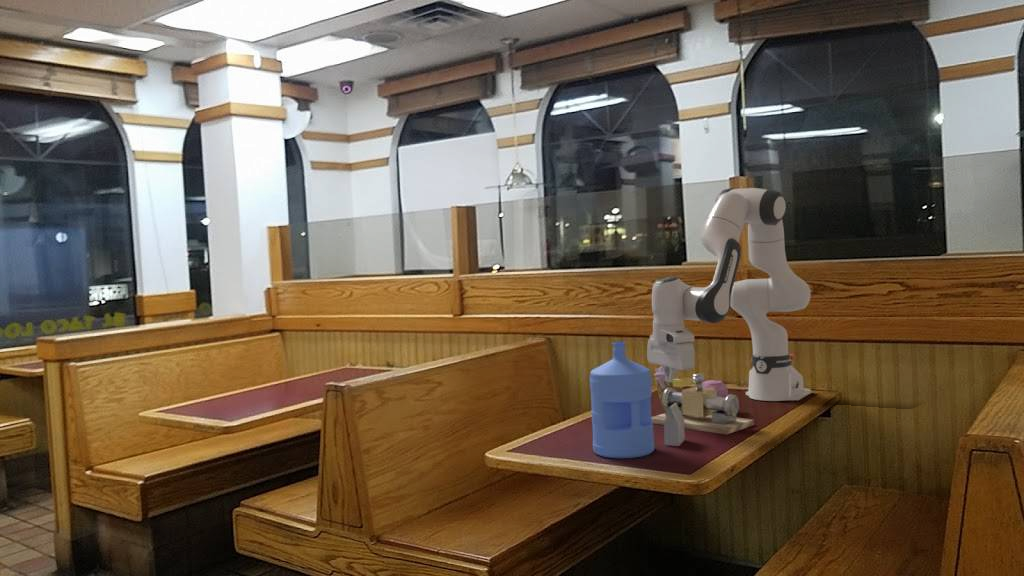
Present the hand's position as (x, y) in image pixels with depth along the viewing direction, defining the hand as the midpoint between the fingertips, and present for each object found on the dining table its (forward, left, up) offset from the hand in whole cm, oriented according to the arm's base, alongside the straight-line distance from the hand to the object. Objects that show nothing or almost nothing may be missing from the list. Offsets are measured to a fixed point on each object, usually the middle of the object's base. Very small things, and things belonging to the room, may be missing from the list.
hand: (670, 382), depth 238 cm
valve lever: (-2, +5, 0) cm, 6 cm away
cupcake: (-22, -1, -13) cm, 26 cm away
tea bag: (+16, +12, -13) cm, 24 cm away
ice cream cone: (-15, -14, -13) cm, 24 cm away
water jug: (+31, +7, -13) cm, 34 cm away
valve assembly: (-6, +5, -13) cm, 15 cm away
